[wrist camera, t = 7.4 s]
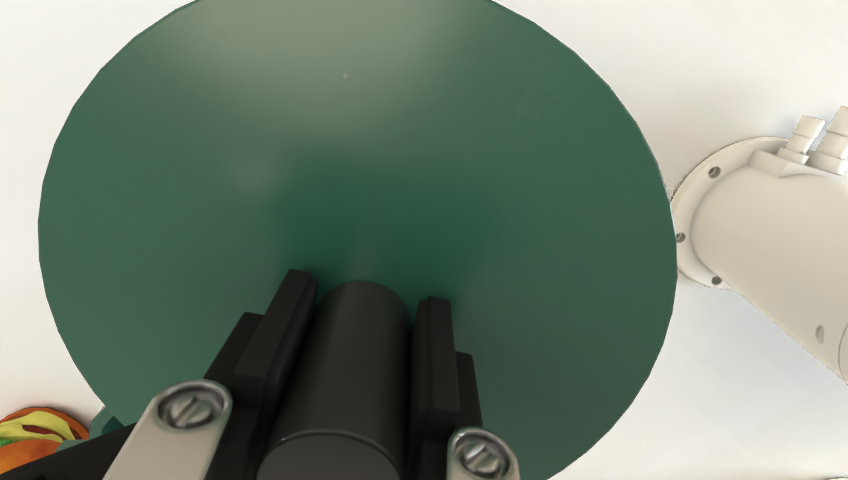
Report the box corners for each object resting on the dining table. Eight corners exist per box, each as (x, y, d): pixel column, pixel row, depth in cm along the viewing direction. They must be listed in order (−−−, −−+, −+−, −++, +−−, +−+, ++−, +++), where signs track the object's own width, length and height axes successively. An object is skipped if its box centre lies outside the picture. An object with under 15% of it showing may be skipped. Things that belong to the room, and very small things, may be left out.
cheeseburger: (-30, 407, 45) (-111, 496, 36) (91, 376, 47) (44, 453, 38) (20, 482, 49) (-40, 578, 40) (131, 450, 51) (96, 536, 42)
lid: (-39, -12, 10) (-576, -56, 5) (716, -42, 10) (1074, -122, 5) (160, 500, 17) (33, 730, 12) (615, 488, 17) (710, 716, 12)
